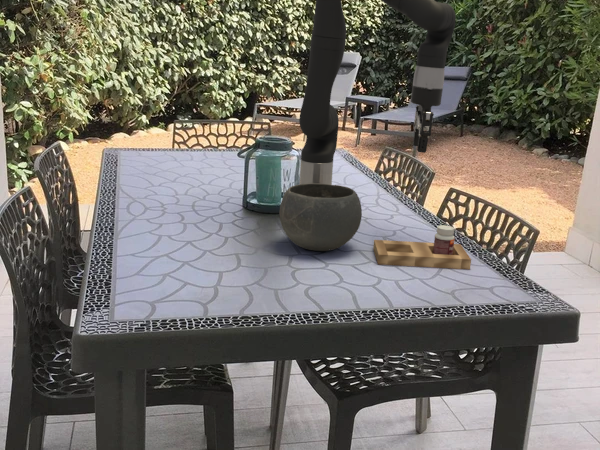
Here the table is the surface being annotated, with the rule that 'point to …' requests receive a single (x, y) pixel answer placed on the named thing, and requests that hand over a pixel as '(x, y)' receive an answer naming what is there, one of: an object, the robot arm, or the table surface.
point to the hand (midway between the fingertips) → (419, 149)
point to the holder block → (418, 255)
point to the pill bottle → (444, 240)
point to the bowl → (320, 215)
